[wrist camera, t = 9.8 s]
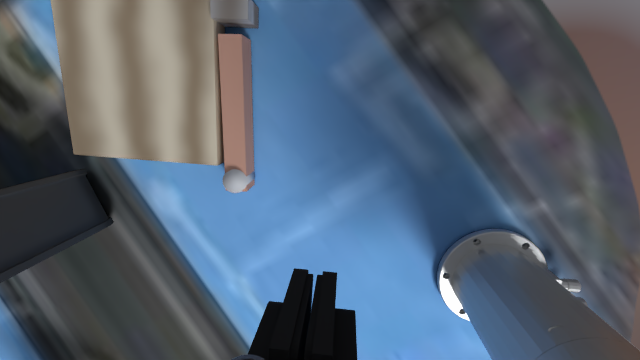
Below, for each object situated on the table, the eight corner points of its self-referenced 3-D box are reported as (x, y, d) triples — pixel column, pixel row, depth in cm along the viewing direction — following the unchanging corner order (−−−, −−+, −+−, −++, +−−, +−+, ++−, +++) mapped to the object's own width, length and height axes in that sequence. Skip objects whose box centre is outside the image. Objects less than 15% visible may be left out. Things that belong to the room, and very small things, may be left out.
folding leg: (255, 185, 37) (246, 193, 33) (234, 184, 37) (223, 192, 33) (251, 40, 33) (240, 33, 29) (228, 39, 33) (214, 32, 29)
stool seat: (258, -5, 32) (247, -19, 28) (257, 162, 36) (248, 168, 33) (73, -13, 33) (41, -26, 30) (94, 150, 38) (69, 155, 34)
